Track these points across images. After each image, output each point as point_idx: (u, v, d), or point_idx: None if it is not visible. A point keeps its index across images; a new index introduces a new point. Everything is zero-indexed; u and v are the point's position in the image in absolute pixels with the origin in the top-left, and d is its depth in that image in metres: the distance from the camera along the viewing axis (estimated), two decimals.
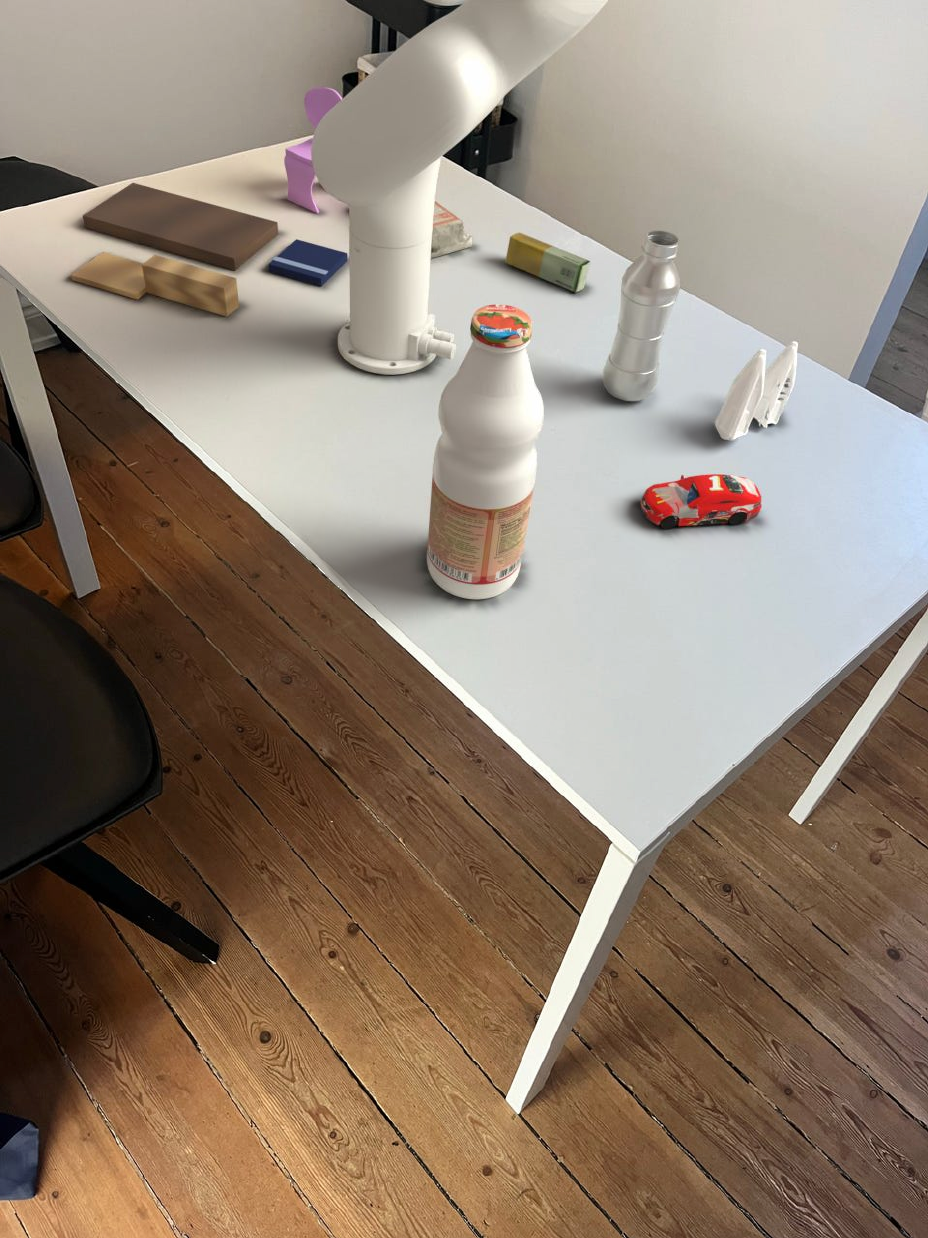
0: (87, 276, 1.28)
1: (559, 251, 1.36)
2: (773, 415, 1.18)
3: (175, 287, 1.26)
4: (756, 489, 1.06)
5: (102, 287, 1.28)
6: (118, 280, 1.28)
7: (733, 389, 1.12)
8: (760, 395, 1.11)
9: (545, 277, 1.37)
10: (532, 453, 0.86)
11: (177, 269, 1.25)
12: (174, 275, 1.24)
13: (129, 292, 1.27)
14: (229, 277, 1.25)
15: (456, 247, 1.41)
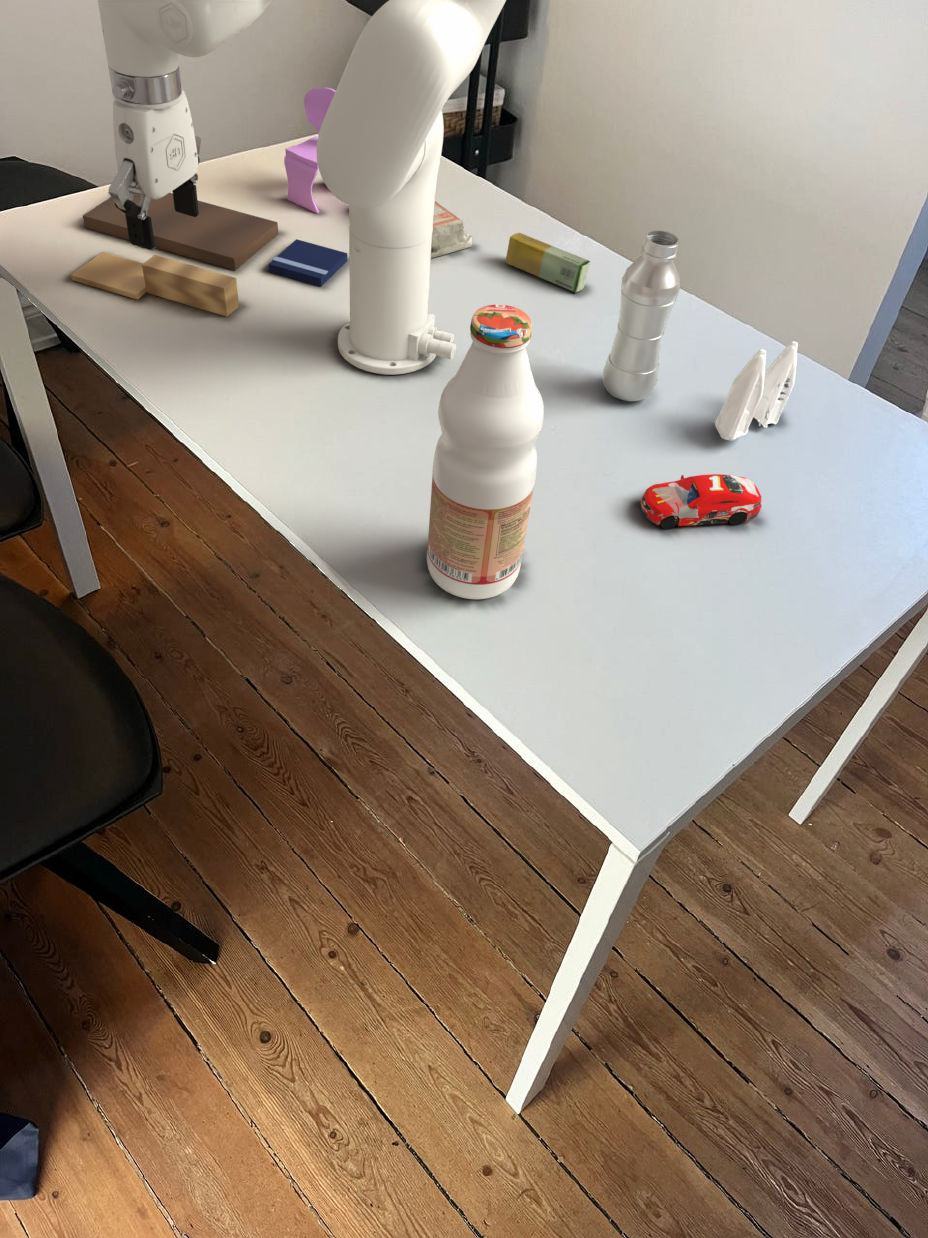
0: (87, 276, 1.28)
1: (559, 251, 1.36)
2: (773, 415, 1.18)
3: (175, 287, 1.26)
4: (756, 489, 1.06)
5: (102, 287, 1.28)
6: (118, 280, 1.28)
7: (733, 389, 1.12)
8: (760, 395, 1.11)
9: (545, 277, 1.37)
10: (532, 453, 0.86)
11: (177, 269, 1.25)
12: (174, 275, 1.24)
13: (129, 292, 1.27)
14: (229, 277, 1.25)
15: (456, 247, 1.41)
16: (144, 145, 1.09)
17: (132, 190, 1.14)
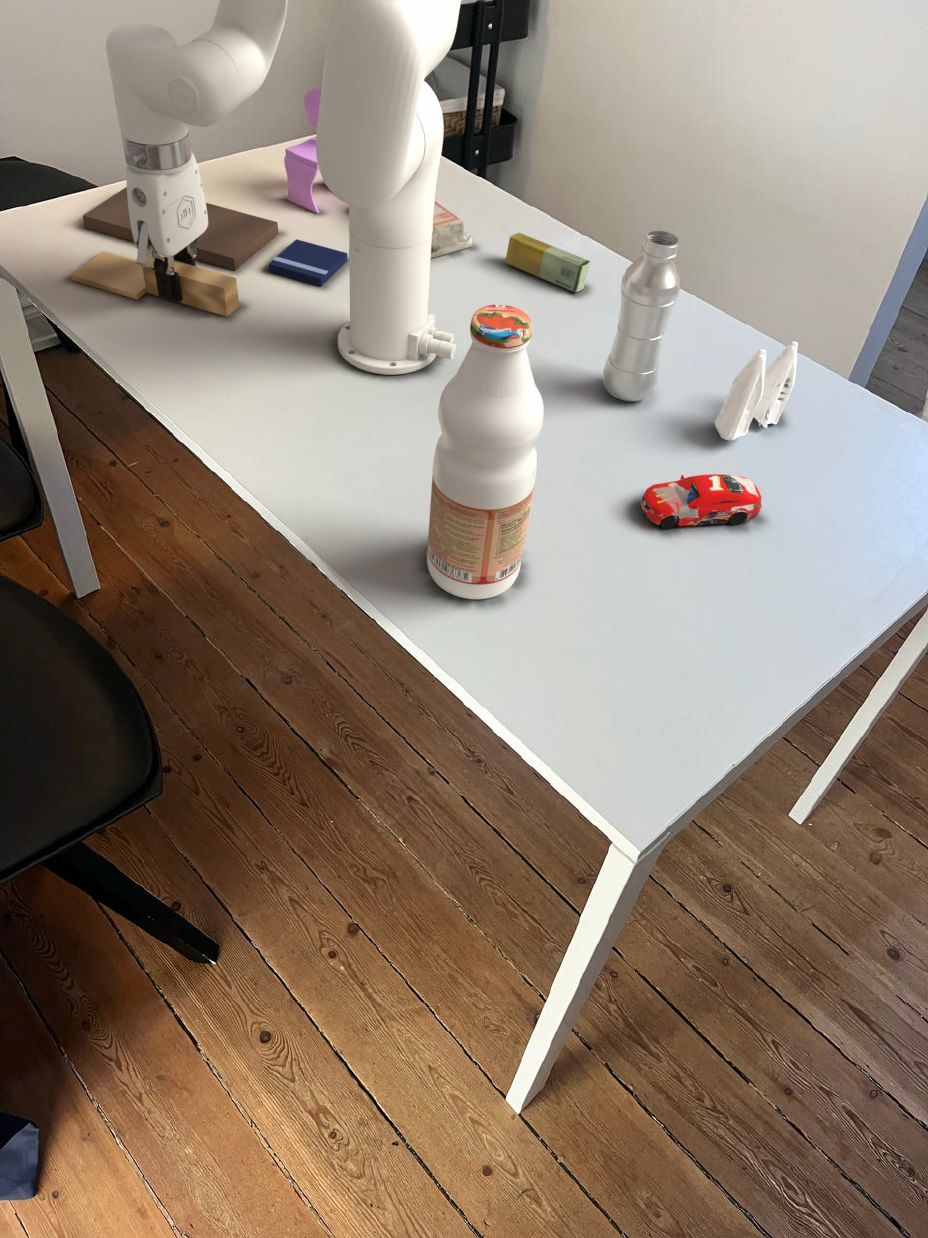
0: (87, 276, 1.28)
1: (559, 251, 1.36)
2: (773, 415, 1.18)
3: None
4: (756, 489, 1.06)
5: (102, 287, 1.28)
6: (118, 280, 1.28)
7: (733, 389, 1.12)
8: (760, 395, 1.11)
9: (545, 277, 1.37)
10: (532, 453, 0.86)
11: (177, 269, 1.25)
12: None
13: (129, 292, 1.27)
14: (229, 277, 1.25)
15: (456, 247, 1.41)
16: (156, 208, 1.14)
17: (155, 252, 1.21)
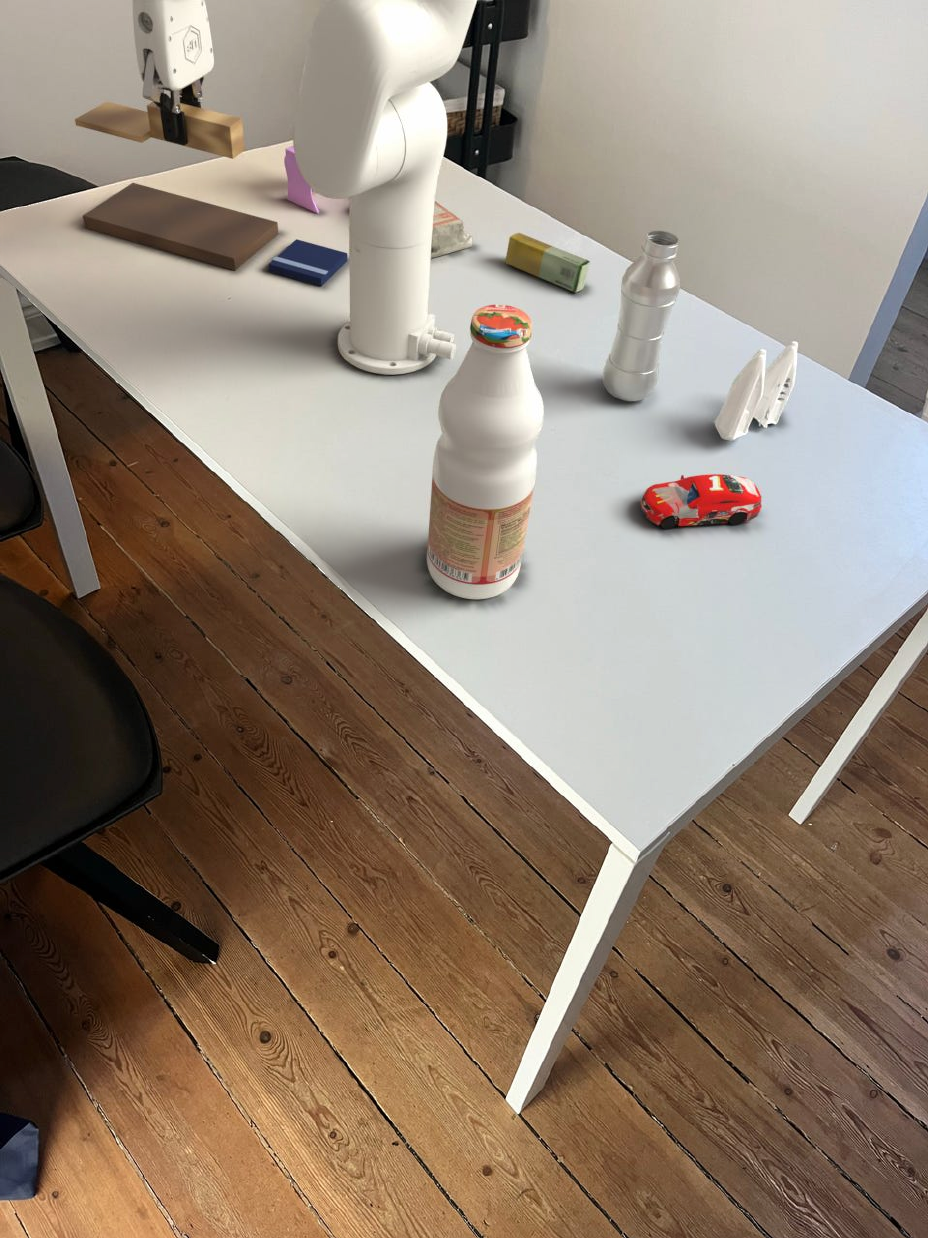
0: (91, 120, 1.27)
1: (558, 251, 1.36)
2: (773, 415, 1.18)
3: None
4: (756, 489, 1.06)
5: (106, 131, 1.27)
6: (122, 124, 1.27)
7: (733, 389, 1.12)
8: (760, 395, 1.11)
9: (545, 277, 1.37)
10: (532, 453, 0.86)
11: (182, 110, 1.24)
12: None
13: (134, 135, 1.26)
14: (235, 117, 1.24)
15: (456, 247, 1.41)
16: (163, 34, 1.14)
17: (160, 87, 1.20)
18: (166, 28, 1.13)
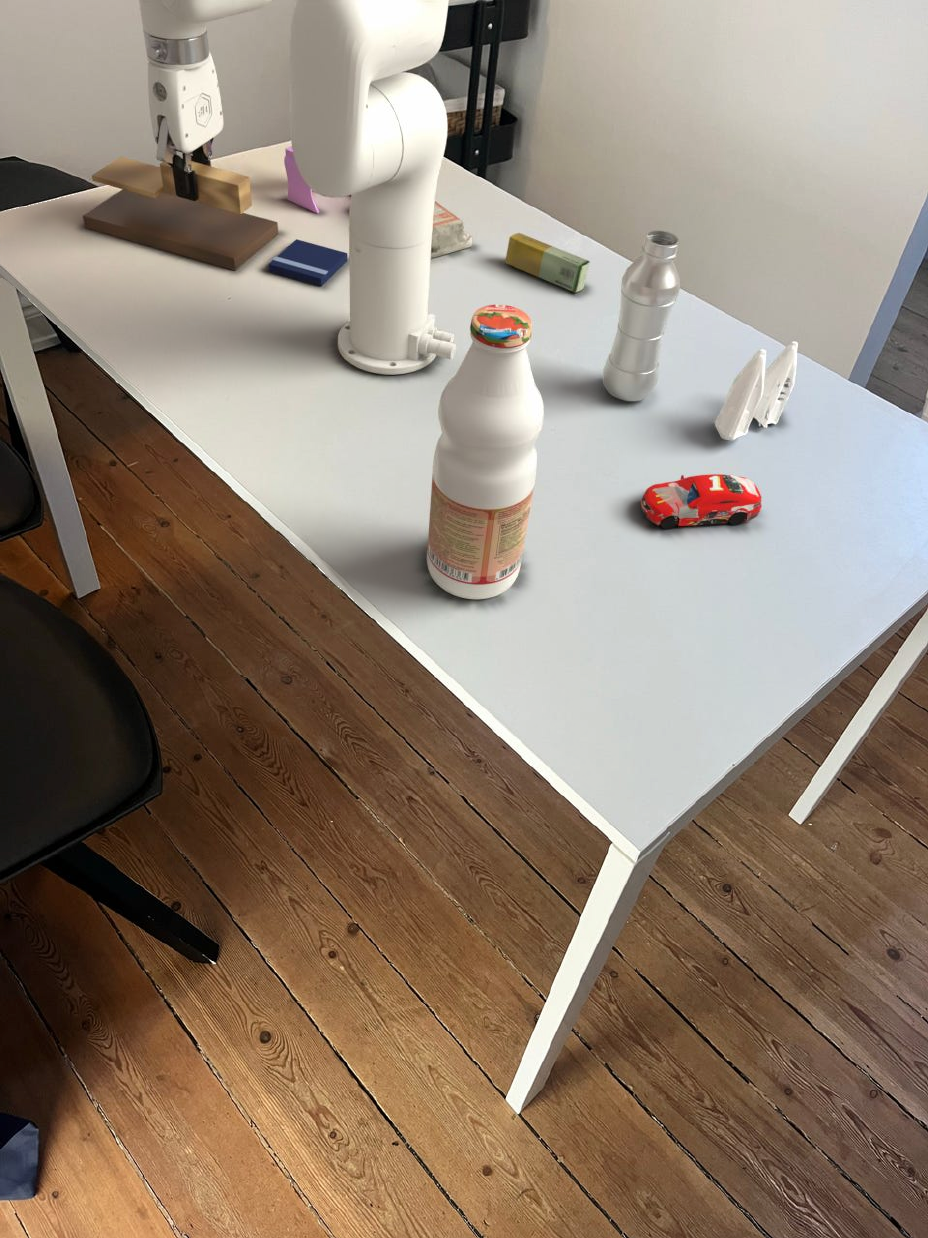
0: (107, 176, 1.35)
1: (558, 251, 1.36)
2: (773, 415, 1.18)
3: None
4: (756, 489, 1.06)
5: (121, 187, 1.34)
6: (137, 180, 1.35)
7: (733, 389, 1.12)
8: (760, 395, 1.11)
9: (545, 277, 1.37)
10: (532, 453, 0.86)
11: (193, 168, 1.32)
12: None
13: (147, 191, 1.33)
14: (243, 176, 1.31)
15: (456, 247, 1.41)
16: (176, 102, 1.21)
17: (173, 149, 1.28)
18: (179, 97, 1.21)
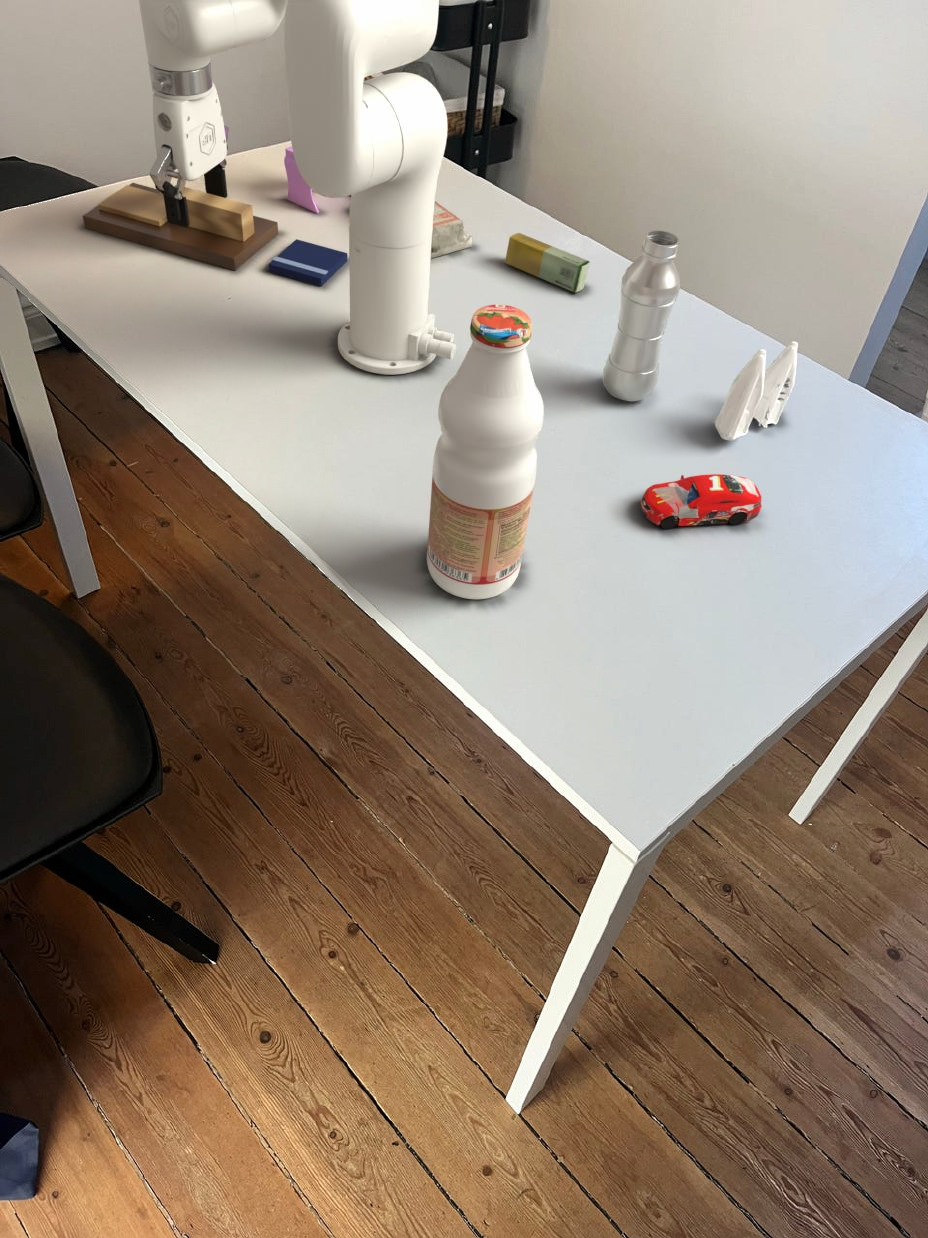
0: (113, 205, 1.38)
1: (558, 251, 1.36)
2: (773, 415, 1.18)
3: (196, 214, 1.35)
4: (756, 489, 1.06)
5: (127, 215, 1.37)
6: (142, 209, 1.38)
7: (733, 389, 1.12)
8: (760, 395, 1.11)
9: (545, 277, 1.37)
10: (532, 453, 0.86)
11: (197, 197, 1.34)
12: (194, 202, 1.34)
13: (152, 219, 1.36)
14: (246, 204, 1.34)
15: (456, 247, 1.41)
16: (180, 132, 1.24)
17: (169, 173, 1.28)
18: (183, 127, 1.23)
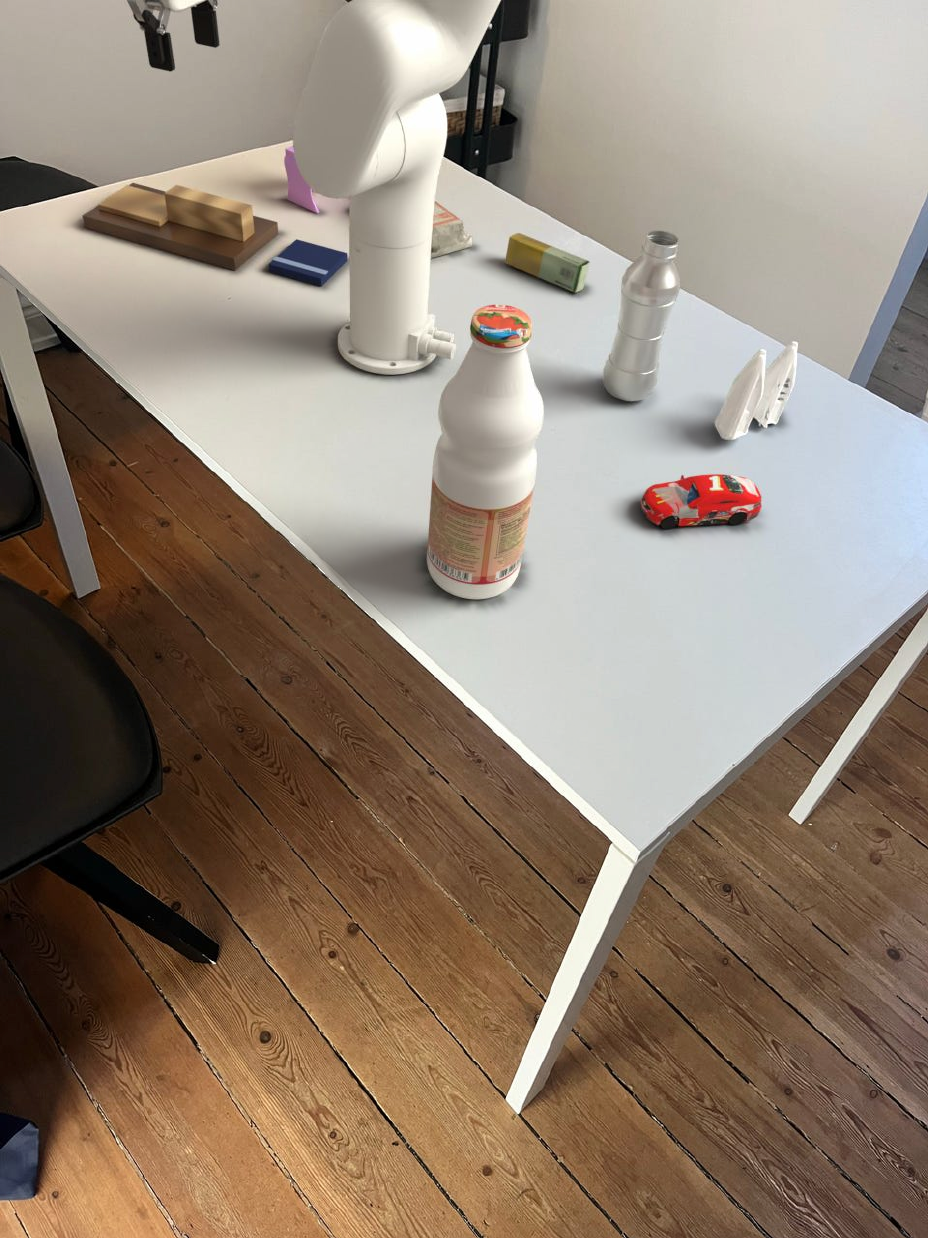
0: (113, 205, 1.38)
1: (558, 251, 1.36)
2: (773, 415, 1.18)
3: (196, 214, 1.35)
4: (756, 489, 1.06)
5: (127, 215, 1.37)
6: (142, 209, 1.38)
7: (733, 389, 1.12)
8: (760, 395, 1.11)
9: (545, 277, 1.37)
10: (532, 453, 0.86)
11: (197, 197, 1.34)
12: (194, 202, 1.34)
13: (152, 219, 1.36)
14: (246, 204, 1.34)
15: (456, 247, 1.41)
16: None
17: (150, 3, 1.11)
18: None
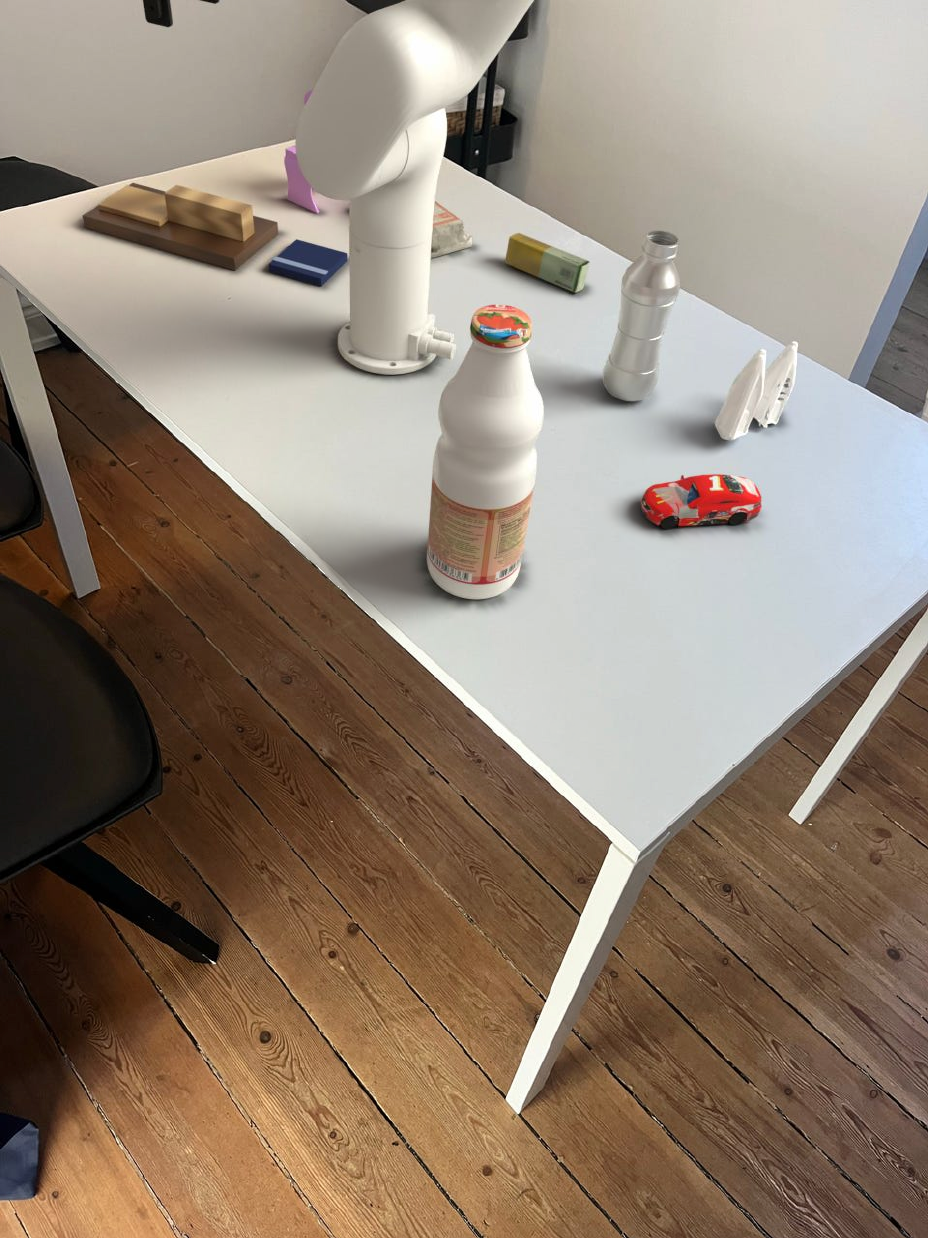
0: (113, 205, 1.38)
1: (558, 251, 1.36)
2: (773, 415, 1.18)
3: (196, 214, 1.35)
4: (756, 489, 1.06)
5: (127, 215, 1.37)
6: (142, 209, 1.38)
7: (733, 389, 1.12)
8: (760, 395, 1.11)
9: (545, 277, 1.37)
10: (532, 453, 0.86)
11: (197, 197, 1.34)
12: (194, 202, 1.34)
13: (152, 219, 1.36)
14: (246, 204, 1.34)
15: (456, 247, 1.41)
16: None
17: None
18: None
